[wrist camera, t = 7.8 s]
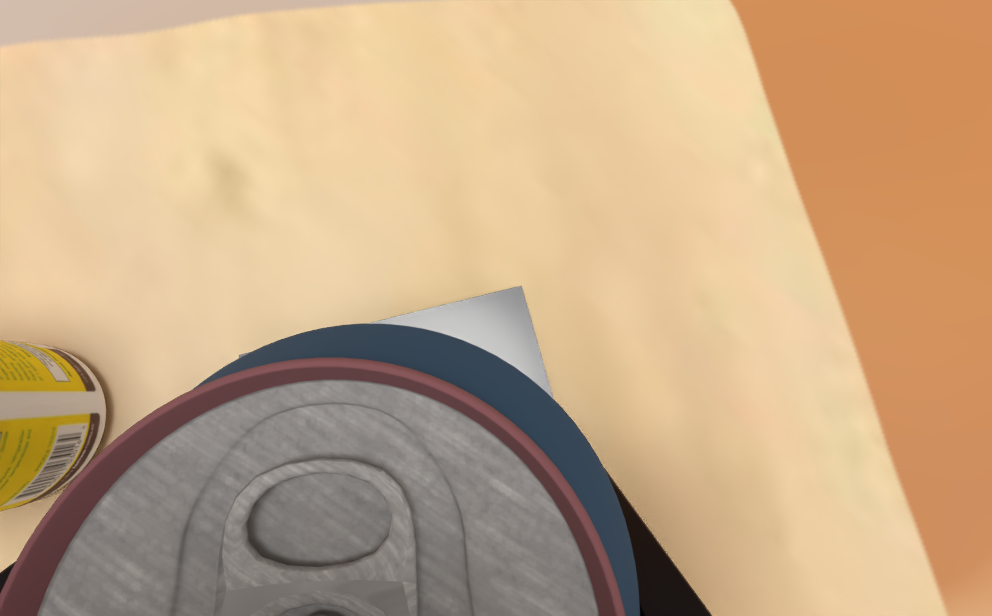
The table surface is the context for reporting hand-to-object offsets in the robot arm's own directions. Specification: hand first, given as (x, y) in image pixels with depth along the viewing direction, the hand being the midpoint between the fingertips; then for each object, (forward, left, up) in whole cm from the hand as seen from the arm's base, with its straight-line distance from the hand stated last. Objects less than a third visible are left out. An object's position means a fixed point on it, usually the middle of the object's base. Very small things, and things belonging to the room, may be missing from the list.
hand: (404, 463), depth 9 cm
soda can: (-1, 0, -7) cm, 7 cm away
